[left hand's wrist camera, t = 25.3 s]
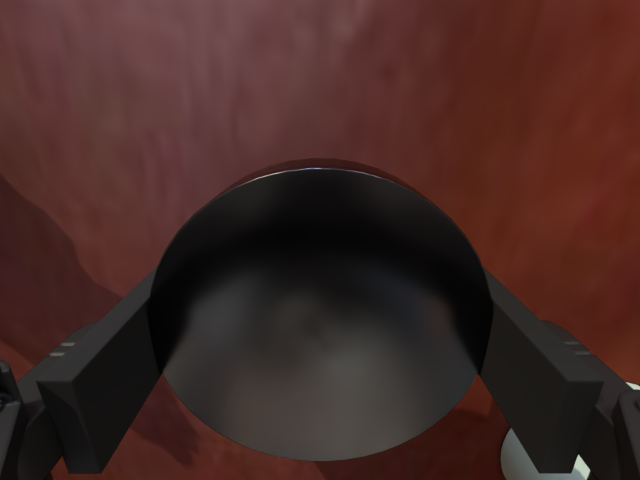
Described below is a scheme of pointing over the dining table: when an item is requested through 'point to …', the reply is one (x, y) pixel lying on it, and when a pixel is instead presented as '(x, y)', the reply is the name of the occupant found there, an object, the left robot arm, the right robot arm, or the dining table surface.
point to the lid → (320, 311)
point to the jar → (522, 470)
